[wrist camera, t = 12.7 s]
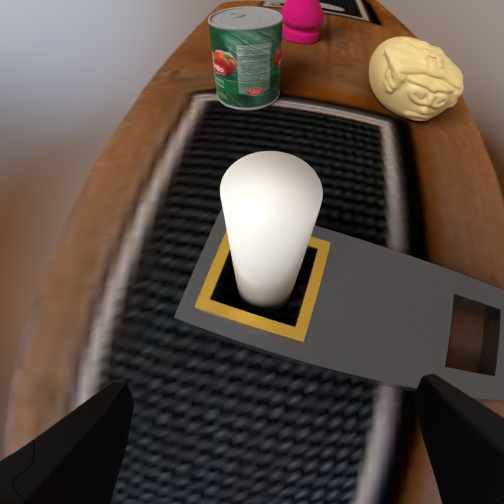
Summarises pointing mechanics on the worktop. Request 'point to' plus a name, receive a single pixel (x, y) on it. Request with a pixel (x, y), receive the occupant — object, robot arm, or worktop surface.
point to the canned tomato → (246, 56)
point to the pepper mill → (302, 20)
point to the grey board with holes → (358, 314)
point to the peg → (269, 224)
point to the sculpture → (414, 78)
